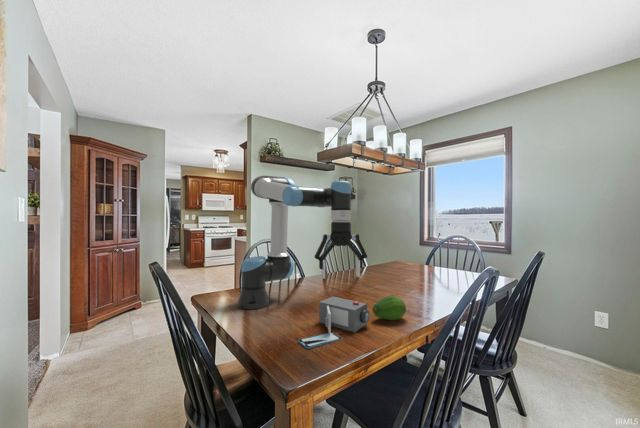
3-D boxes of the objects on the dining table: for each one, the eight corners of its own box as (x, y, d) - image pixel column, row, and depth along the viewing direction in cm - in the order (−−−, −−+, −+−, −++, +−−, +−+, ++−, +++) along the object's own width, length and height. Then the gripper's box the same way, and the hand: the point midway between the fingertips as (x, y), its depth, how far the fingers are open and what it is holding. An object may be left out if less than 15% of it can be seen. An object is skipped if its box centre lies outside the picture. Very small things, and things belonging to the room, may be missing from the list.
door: (324, 323, 114) (324, 305, 114) (328, 323, 114) (328, 305, 114) (325, 333, 104) (326, 313, 104) (331, 333, 104) (331, 313, 104)
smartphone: (343, 338, 101) (307, 347, 93) (343, 341, 101) (307, 350, 93) (332, 331, 107) (297, 339, 99) (331, 334, 107) (296, 342, 99)
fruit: (378, 326, 113) (378, 301, 114) (367, 317, 123) (367, 294, 123) (411, 322, 118) (411, 298, 118) (398, 314, 127) (398, 292, 127)
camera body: (319, 322, 117) (319, 300, 117) (332, 315, 125) (332, 294, 125) (359, 333, 106) (359, 309, 106) (371, 325, 114) (371, 302, 114)
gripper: (309, 221, 102) (309, 280, 102) (375, 221, 106) (375, 278, 106) (307, 221, 109) (307, 276, 109) (368, 221, 113) (368, 274, 113)
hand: (340, 277), depth 107 cm, fingers open, 13 cm apart
